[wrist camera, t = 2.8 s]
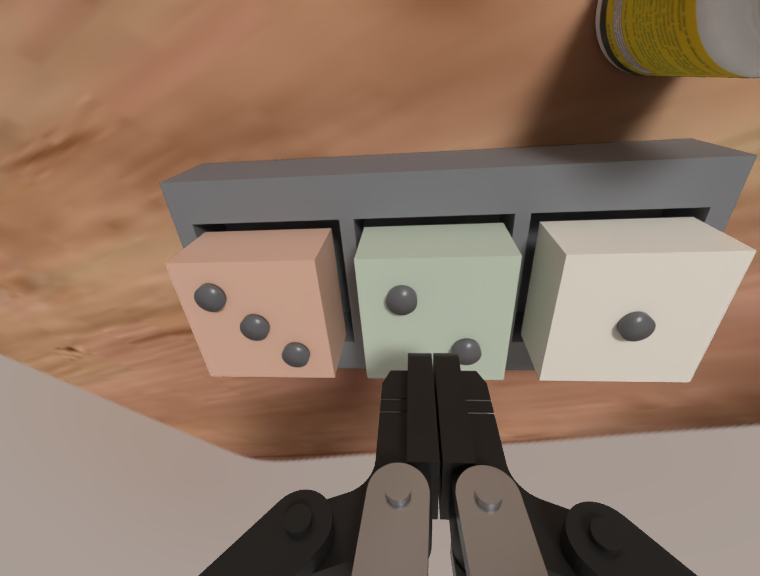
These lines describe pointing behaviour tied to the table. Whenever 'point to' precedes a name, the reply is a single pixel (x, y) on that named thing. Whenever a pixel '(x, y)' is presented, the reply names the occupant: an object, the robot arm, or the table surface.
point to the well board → (459, 199)
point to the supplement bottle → (681, 37)
